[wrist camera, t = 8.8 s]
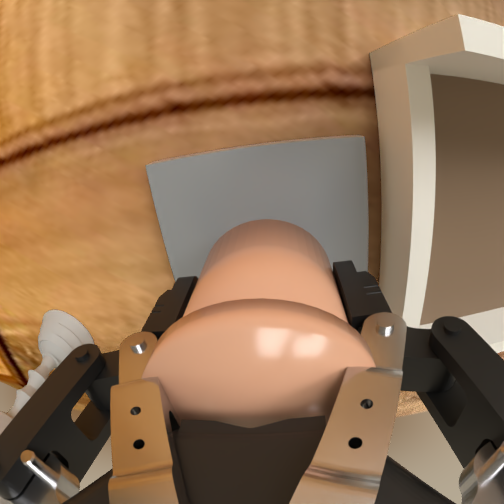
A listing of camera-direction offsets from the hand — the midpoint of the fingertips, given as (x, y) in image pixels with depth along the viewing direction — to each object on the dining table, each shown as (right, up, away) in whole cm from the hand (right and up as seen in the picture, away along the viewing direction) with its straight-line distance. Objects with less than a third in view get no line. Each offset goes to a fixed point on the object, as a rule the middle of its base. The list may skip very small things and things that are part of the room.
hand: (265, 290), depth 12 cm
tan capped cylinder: (0, 0, +1) cm, 1 cm away
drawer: (+14, +4, +2) cm, 15 cm away
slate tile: (0, +2, +4) cm, 4 cm away
